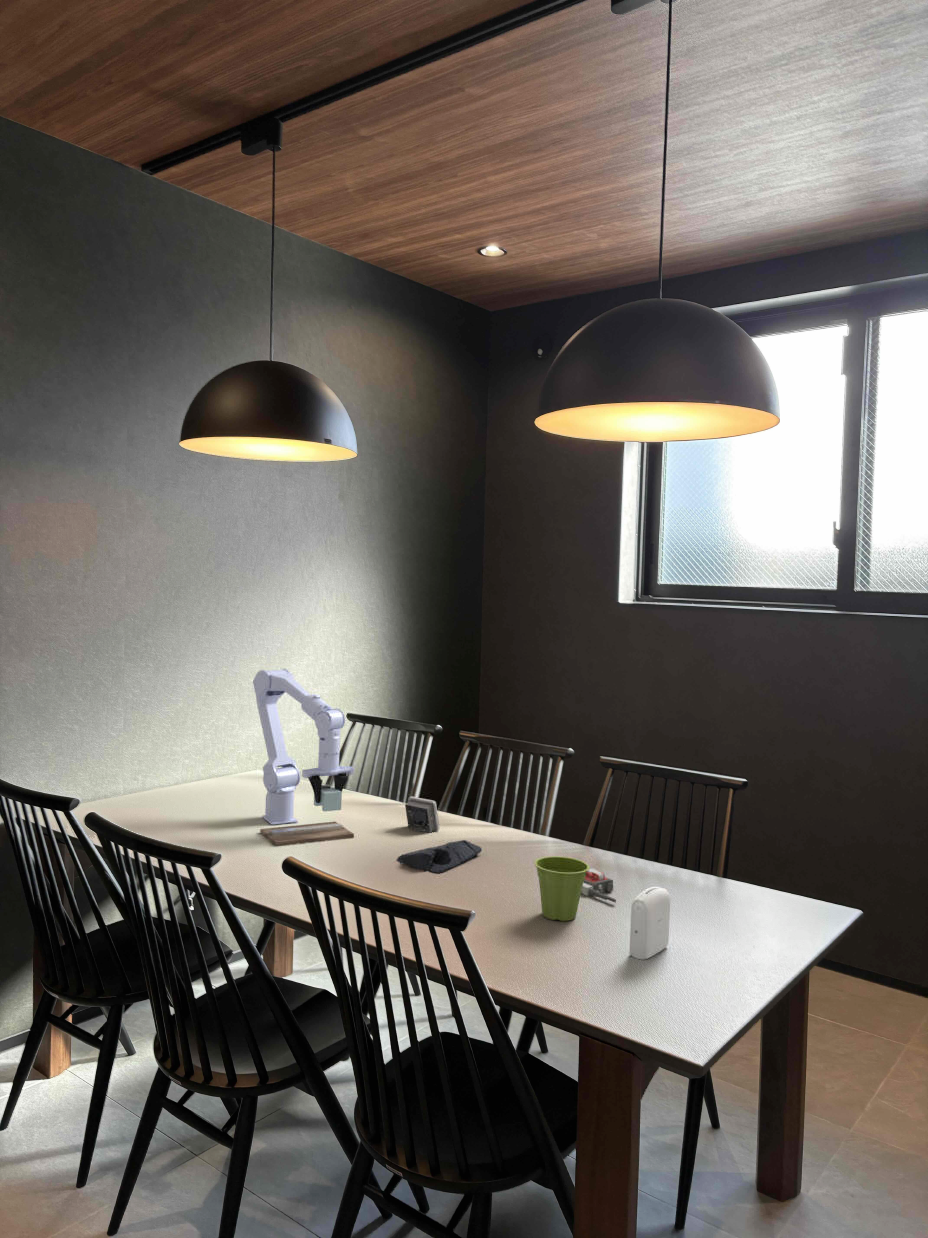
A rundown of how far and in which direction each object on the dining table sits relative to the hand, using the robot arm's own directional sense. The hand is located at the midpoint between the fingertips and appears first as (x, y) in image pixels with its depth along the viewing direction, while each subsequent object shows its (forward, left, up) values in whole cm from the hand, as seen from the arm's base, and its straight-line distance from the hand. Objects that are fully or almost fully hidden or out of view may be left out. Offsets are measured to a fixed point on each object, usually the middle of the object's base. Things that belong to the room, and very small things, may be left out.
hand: (327, 801), depth 252 cm
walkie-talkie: (+69, +41, -10) cm, 80 cm away
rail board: (0, -6, -9) cm, 11 cm away
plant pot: (+79, +23, -9) cm, 83 cm away
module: (0, 0, -2) cm, 2 cm away
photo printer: (+102, +28, -9) cm, 106 cm away
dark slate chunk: (+33, +19, -10) cm, 40 cm away
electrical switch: (+7, +26, -9) cm, 29 cm away
